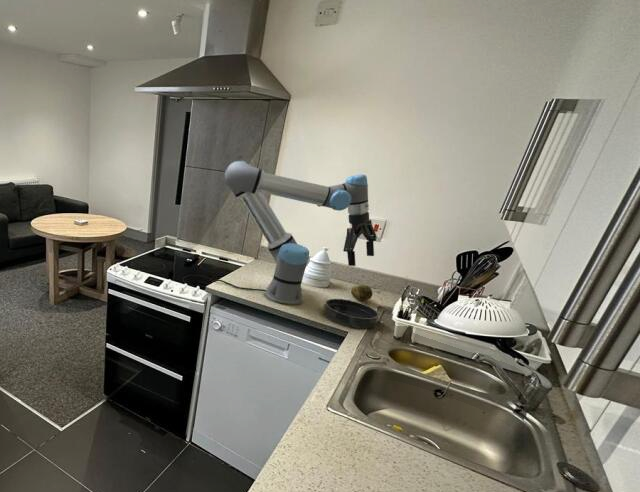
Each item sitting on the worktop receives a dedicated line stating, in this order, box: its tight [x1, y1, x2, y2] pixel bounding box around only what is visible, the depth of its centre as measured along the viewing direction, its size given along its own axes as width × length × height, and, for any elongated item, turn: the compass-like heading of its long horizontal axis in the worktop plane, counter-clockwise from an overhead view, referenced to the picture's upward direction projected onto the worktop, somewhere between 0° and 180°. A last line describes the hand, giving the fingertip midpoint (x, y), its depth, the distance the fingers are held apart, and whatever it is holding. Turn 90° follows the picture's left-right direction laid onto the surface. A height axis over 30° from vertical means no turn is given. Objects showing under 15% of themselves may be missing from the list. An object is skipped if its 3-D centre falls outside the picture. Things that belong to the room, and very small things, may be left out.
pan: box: [322, 298, 380, 329], centre depth 157 cm, size 19×19×4 cm
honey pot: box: [301, 246, 332, 288], centre depth 193 cm, size 13×13×18 cm
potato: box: [350, 284, 373, 302], centre depth 177 cm, size 8×13×8 cm, turn 149°
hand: (361, 260), depth 172 cm, fingers open, 13 cm apart
